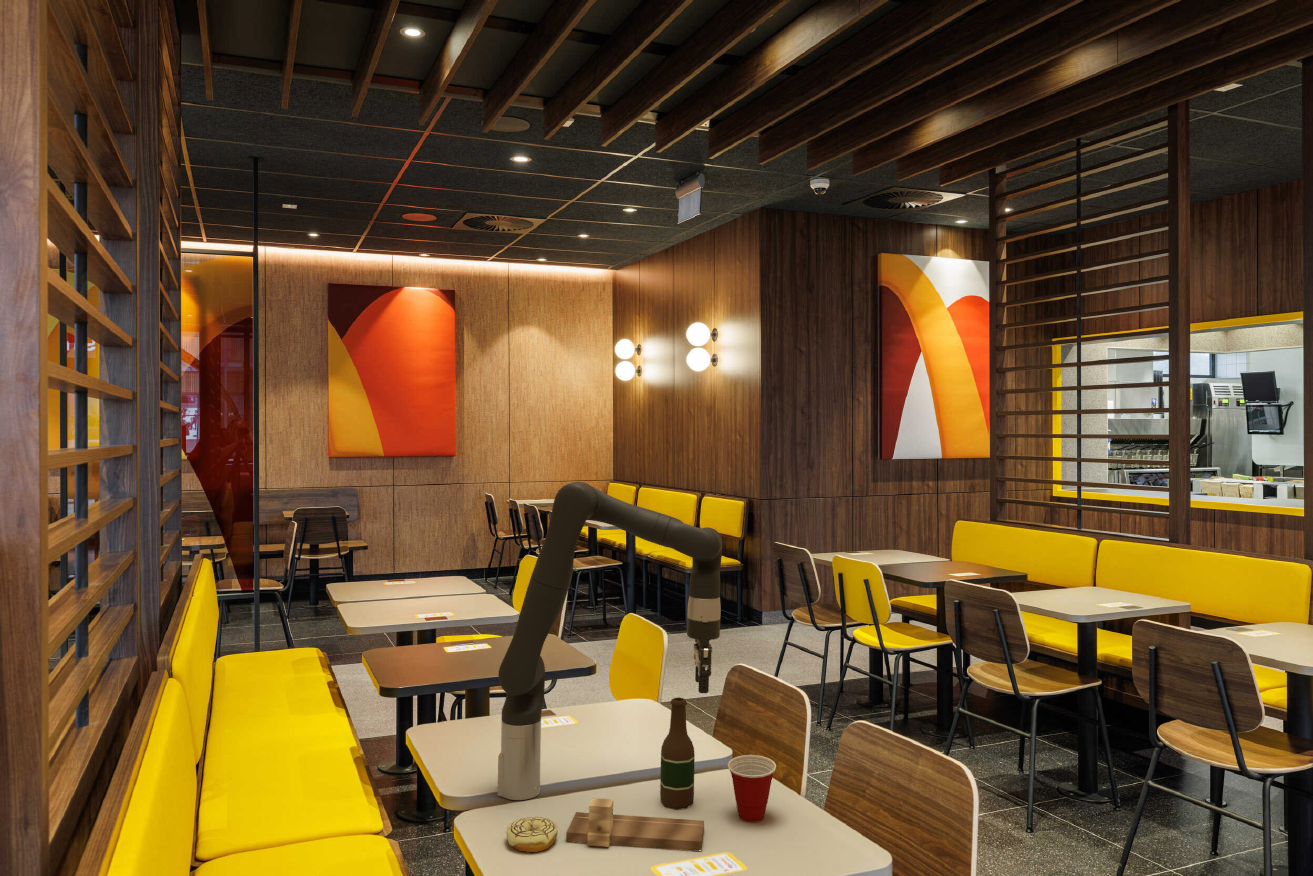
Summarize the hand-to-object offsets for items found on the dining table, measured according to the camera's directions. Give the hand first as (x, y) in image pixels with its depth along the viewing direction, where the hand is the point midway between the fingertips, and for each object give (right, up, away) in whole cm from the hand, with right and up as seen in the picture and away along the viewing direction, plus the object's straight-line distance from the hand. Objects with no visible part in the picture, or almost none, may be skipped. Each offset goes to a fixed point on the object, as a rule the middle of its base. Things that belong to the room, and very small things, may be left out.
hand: (701, 687), depth 202 cm
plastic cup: (+11, -28, -4) cm, 30 cm away
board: (-15, -27, -15) cm, 34 cm away
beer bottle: (-6, -28, +2) cm, 28 cm away
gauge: (-22, -27, -16) cm, 38 cm away
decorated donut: (-36, -27, -18) cm, 49 cm away
